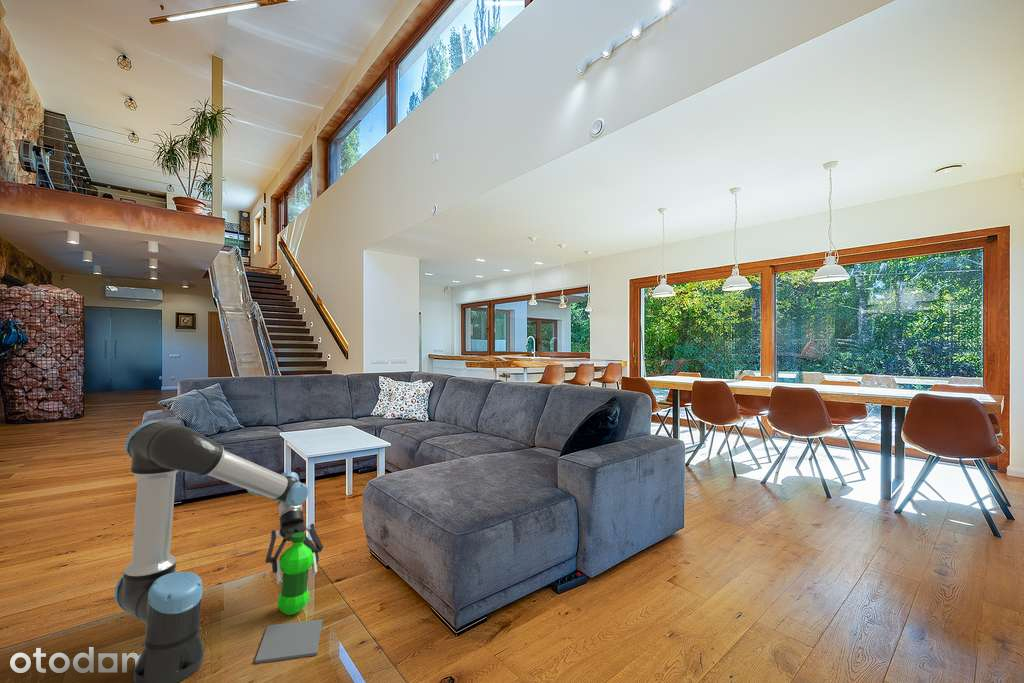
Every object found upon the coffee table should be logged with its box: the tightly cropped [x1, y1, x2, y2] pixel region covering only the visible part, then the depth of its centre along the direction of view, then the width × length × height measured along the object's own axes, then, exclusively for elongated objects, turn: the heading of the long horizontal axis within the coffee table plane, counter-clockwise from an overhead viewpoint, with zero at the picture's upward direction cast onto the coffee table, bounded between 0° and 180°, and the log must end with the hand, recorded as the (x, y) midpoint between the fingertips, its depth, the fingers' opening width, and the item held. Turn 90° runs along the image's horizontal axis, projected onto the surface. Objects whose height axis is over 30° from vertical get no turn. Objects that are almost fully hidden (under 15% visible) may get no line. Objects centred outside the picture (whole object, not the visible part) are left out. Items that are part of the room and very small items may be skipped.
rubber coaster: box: [254, 618, 324, 664], centre depth 132 cm, size 16×16×1 cm
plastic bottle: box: [276, 532, 314, 616], centre depth 147 cm, size 10×11×25 cm
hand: (297, 577), depth 145 cm, fingers closed on plastic bottle, 10 cm apart
